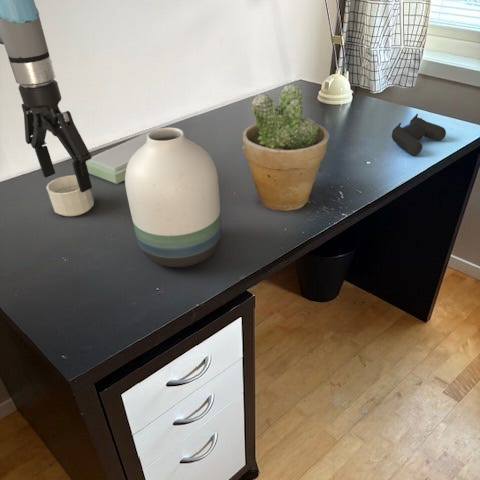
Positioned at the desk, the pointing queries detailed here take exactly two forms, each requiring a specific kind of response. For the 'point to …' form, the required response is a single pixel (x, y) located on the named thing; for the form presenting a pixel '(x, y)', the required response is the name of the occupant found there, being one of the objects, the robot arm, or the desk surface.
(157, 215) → the vase
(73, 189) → the beige cup
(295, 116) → the potted plant
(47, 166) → the robot arm
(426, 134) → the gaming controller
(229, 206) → the desk surface
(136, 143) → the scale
